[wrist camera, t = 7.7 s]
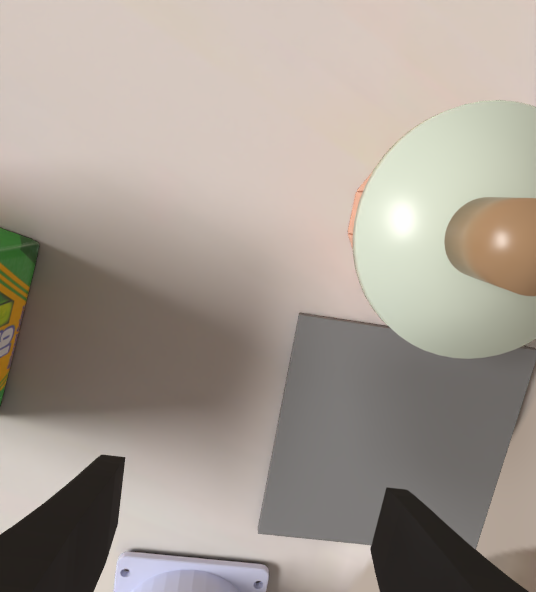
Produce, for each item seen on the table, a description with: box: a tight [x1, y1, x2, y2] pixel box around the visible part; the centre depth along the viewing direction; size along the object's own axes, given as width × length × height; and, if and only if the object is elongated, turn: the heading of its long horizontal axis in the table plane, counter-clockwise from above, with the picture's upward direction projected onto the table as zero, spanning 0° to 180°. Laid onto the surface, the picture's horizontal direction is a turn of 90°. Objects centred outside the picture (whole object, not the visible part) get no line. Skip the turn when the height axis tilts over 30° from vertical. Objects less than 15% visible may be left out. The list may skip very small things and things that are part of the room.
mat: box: [258, 313, 536, 550], centre depth 23 cm, size 12×12×1 cm
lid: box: [353, 100, 536, 359], centre depth 15 cm, size 9×9×4 cm
